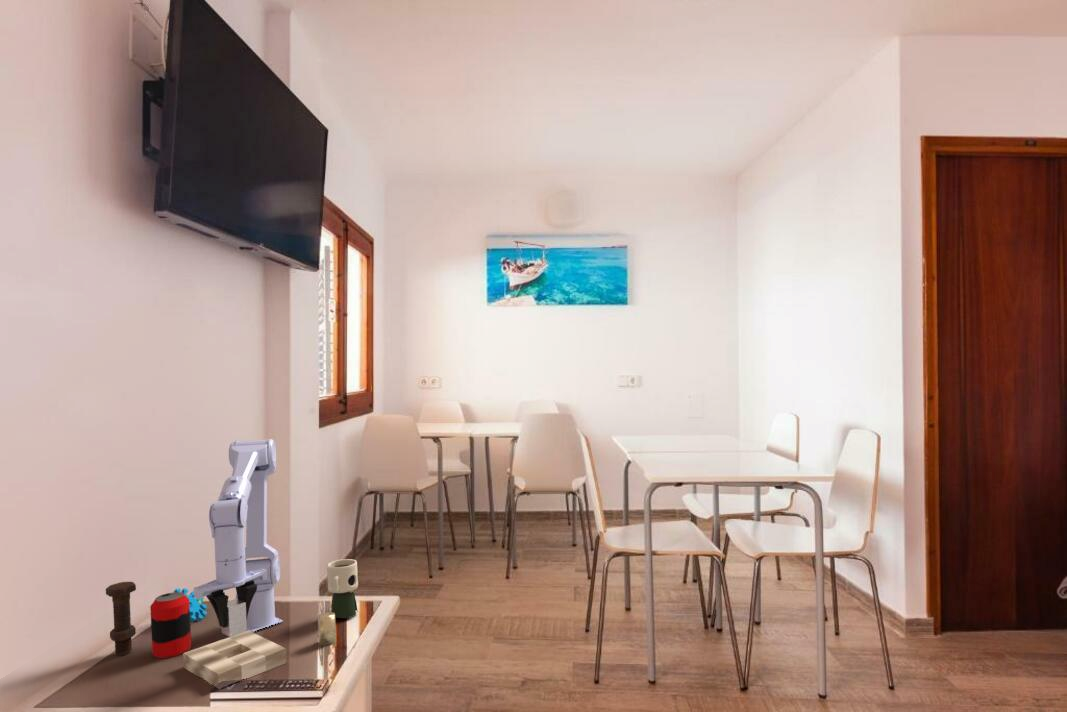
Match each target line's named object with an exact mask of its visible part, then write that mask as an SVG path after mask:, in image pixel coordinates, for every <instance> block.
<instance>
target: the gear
mask: <svg viewBox="0 0 1067 712" xmlns="http://www.w3.org/2000/svg"><path fill="white" fill-rule="evenodd" d="M173 592H182V593H184V595H186V596H187V597H188V598H189V605H190V622H195V620H196V621H198V622H200V621H202V620H203V619H204V618H205V616H206V615H207V614H208V612H207V611H206V609H207V608H208V607H207V604H203V602H204V599H205V596H204V597H203V598H201V599H197V598H195V597H194V590H193V591H191V592H190V593H189V594H187V593H188V592H189V589H188V588H183V589H182V590H181V588H176V589H174V591H173Z"/></svg>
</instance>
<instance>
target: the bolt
mask: <svg viewBox="0 0 1067 712" xmlns="http://www.w3.org/2000/svg"><path fill="white" fill-rule="evenodd" d="M136 590H137V585H136V583H135V582H133V581H121V582H116V583H113V584H110V585H108V586H107V587H105V595H106V596H108V597H111V599H112V600H111V601H112V608H113V609H112V613H113V629H111V631H109V638H110V640H111V641H113V642H114V648H115V649H114V652H115V653H114V654H115V655H116V656H124V655H128V654H130V653H131V652H132V650H133V644H132V643H133V642H132V638H133V637H134V636H135V635H136V633H137V632H136V627H135V625H133V624H132V622H131V621H132V620H131V619H132V618H131V614H132V613H131V602H130V601H131V593H133V592H135V591H136Z"/></svg>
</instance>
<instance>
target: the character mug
mask: <svg viewBox="0 0 1067 712" xmlns="http://www.w3.org/2000/svg"><path fill="white" fill-rule="evenodd" d="M357 561H358V560H356V559H352V558H351V559H350V558H343V559H337V560H333V561H330V562H329V563H327V565H326V573H327V574H326V575H327V576H326V577H327V578H326V579H327V589H328V590H327V591H328V592H330V593H333V594H332V598H331V607H330V610H331V611H330V612H333V613H335V619H336V618H337V619H341V620H343V619H348V618H353V617H355V616H356V615H357V613H358V612H359V611H358V606H357V605H358V604H357V600H356V595H355V592H354V590H356V589H357V588H358V587H359V579H358V562H357Z"/></svg>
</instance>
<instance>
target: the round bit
mask: <svg viewBox="0 0 1067 712" xmlns="http://www.w3.org/2000/svg"><path fill="white" fill-rule="evenodd" d="M317 622H318V624H317V625H318V643H319V646H323V647H324V646H325V647H326V646H330V645H334V644H335V643H336V642H337V630H336V629H337V628H336V618H335V613H333V612H331V611H329V612H327V611H326V612H323V613H319V614H318V616H317Z"/></svg>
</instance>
